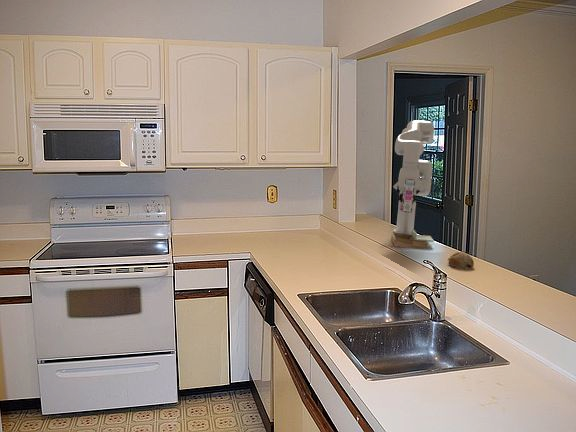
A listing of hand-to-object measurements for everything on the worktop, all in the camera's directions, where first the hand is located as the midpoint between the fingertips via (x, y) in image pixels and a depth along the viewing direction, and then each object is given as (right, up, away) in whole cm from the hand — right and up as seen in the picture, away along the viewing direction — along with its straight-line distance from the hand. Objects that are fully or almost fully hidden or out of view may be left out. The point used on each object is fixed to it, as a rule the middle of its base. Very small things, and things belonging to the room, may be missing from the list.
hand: (406, 202), depth 272 cm
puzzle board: (+2, -21, +2) cm, 21 cm away
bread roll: (+13, -29, -42) cm, 52 cm away
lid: (+8, -18, +1) cm, 20 cm away
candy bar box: (0, -5, +1) cm, 5 cm away
